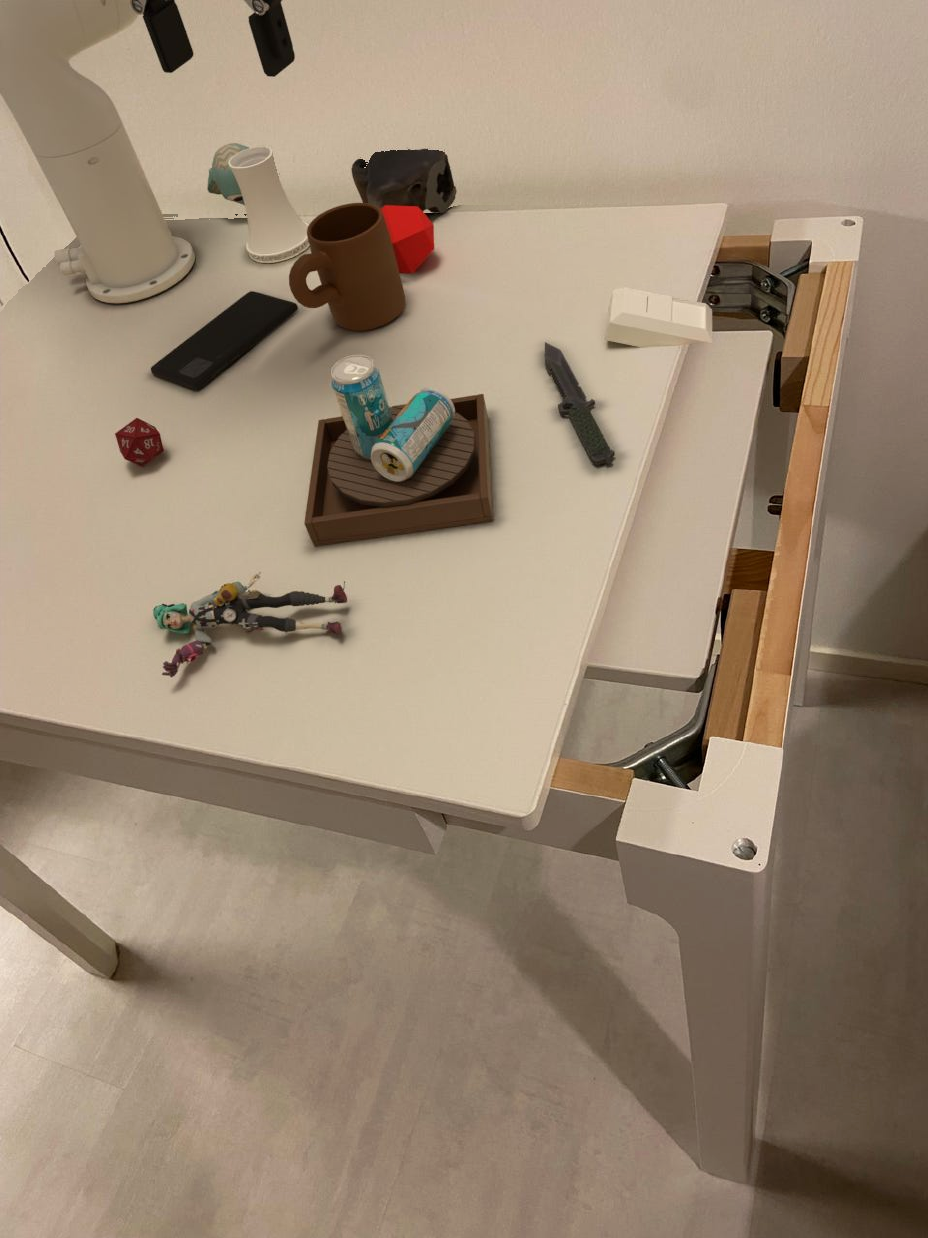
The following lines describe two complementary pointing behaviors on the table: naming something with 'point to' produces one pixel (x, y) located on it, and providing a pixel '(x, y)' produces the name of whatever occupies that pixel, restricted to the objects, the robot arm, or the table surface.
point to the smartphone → (223, 340)
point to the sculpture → (406, 179)
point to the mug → (351, 268)
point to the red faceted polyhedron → (409, 235)
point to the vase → (267, 208)
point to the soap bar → (656, 319)
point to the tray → (353, 521)
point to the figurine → (235, 616)
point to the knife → (577, 407)
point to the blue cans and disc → (394, 440)
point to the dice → (139, 442)
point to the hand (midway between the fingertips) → (229, 66)
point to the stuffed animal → (225, 174)
